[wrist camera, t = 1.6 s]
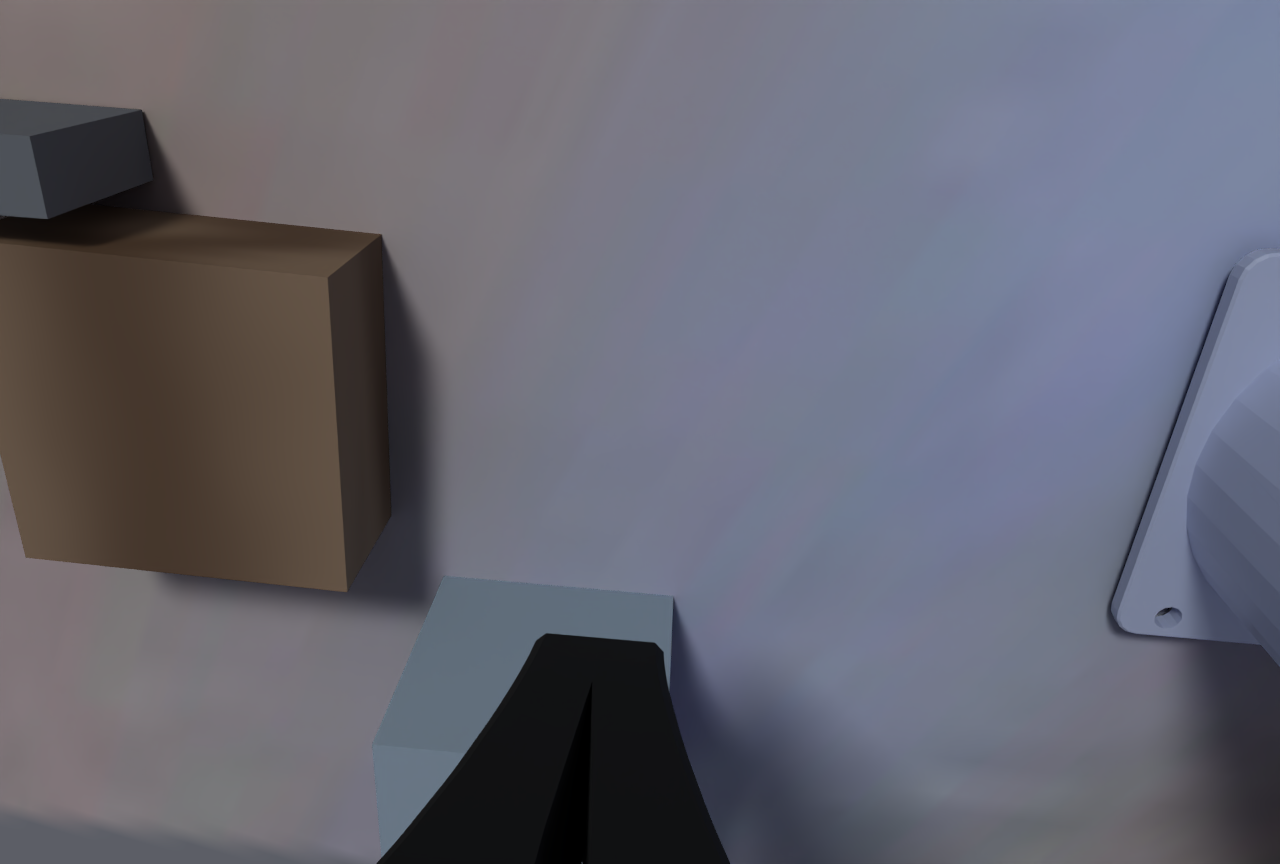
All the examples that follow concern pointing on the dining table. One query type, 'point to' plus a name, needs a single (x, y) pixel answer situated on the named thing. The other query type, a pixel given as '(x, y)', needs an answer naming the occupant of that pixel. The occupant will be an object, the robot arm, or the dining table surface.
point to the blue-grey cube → (484, 674)
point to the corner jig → (67, 156)
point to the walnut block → (194, 394)
